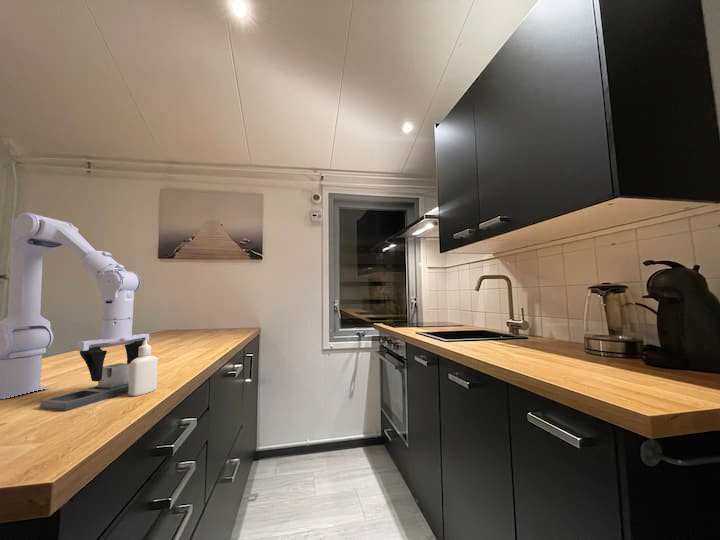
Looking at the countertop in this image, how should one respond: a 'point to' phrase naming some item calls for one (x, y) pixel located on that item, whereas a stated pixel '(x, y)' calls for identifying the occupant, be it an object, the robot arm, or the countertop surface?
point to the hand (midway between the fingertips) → (114, 376)
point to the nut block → (114, 376)
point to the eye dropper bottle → (143, 372)
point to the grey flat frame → (88, 395)
